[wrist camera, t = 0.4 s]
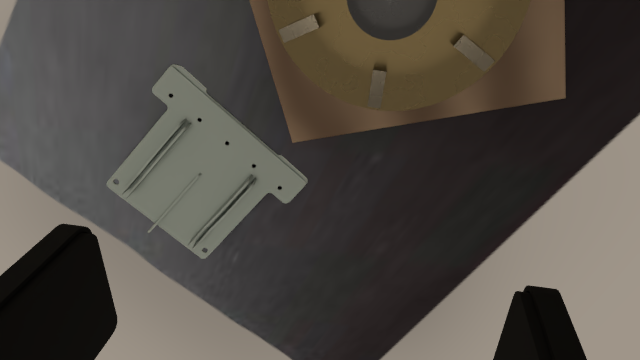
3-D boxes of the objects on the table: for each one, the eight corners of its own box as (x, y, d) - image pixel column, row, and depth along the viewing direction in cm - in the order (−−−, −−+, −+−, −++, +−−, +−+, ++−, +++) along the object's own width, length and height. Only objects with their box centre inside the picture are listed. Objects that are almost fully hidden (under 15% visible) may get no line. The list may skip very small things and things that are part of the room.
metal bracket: (210, 289, 42) (70, 183, 39) (222, 258, 48) (99, 164, 45) (317, 178, 39) (175, 53, 36) (316, 159, 45) (193, 50, 42)
